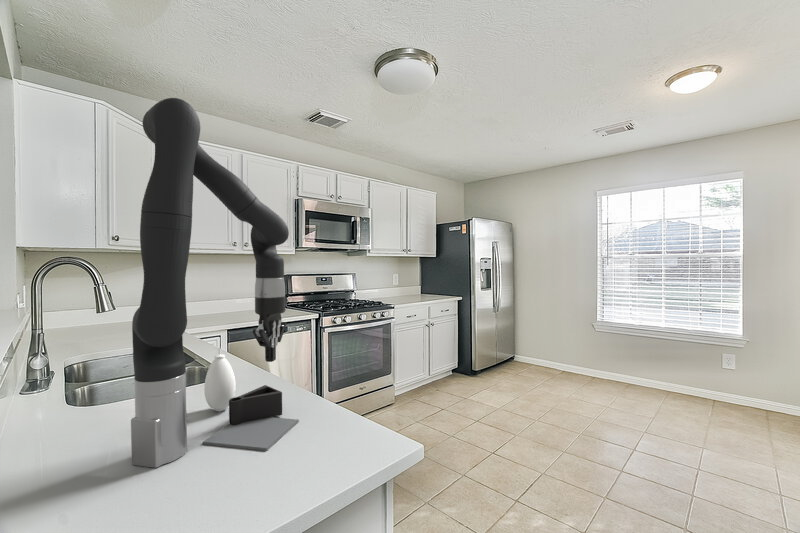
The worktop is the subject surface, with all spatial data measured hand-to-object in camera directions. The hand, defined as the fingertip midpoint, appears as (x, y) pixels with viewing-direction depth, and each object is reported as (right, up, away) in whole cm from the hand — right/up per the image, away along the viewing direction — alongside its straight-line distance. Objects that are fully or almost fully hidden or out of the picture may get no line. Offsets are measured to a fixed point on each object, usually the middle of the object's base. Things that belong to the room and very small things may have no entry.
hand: (270, 360), depth 99 cm
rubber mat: (-1, -15, -8) cm, 17 cm away
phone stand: (0, -12, +4) cm, 12 cm away
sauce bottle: (-16, -15, +6) cm, 23 cm away
